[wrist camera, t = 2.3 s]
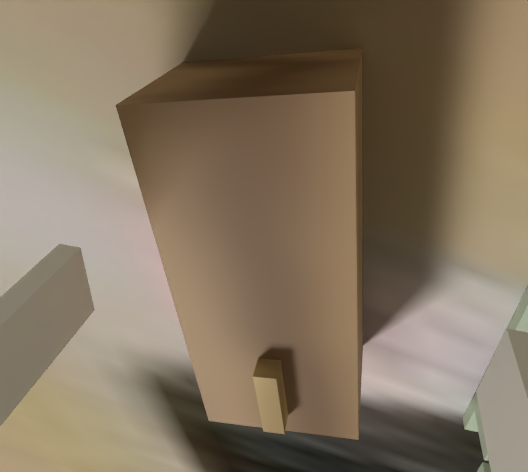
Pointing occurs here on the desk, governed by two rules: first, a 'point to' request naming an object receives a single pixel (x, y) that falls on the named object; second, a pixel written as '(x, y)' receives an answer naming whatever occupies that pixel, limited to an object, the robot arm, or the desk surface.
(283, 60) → the door
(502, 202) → the desk surface
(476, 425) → the carcass
